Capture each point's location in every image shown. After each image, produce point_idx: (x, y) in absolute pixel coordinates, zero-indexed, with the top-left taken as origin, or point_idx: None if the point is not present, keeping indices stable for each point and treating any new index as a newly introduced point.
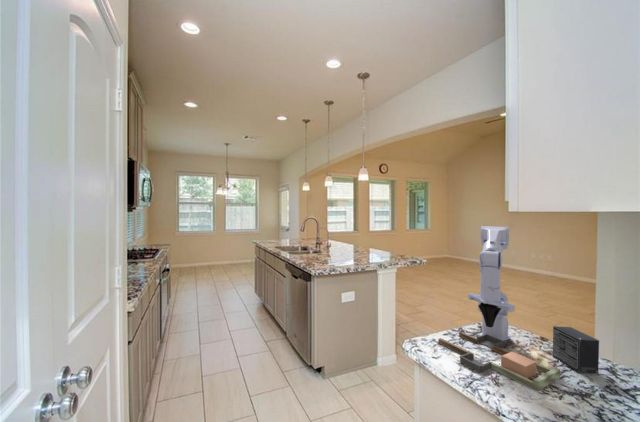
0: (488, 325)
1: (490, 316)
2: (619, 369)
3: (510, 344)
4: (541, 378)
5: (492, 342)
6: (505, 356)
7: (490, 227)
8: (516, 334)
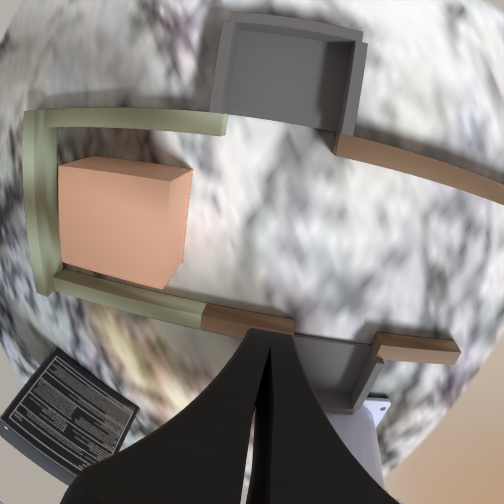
0: (260, 337)
1: (192, 412)
2: None
3: None
4: (26, 154)
5: (319, 385)
6: (151, 191)
7: None
8: None
